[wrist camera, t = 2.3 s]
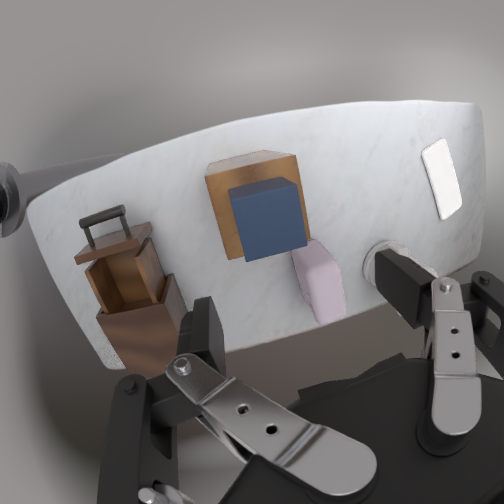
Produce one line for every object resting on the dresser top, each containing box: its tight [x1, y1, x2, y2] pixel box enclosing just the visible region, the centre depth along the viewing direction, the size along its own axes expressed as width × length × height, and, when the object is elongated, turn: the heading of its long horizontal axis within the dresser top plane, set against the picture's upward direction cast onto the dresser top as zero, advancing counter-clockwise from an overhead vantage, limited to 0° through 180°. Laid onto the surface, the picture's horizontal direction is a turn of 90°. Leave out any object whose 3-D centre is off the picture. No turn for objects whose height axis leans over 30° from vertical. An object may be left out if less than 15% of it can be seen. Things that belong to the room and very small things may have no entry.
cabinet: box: [96, 273, 188, 378], centre depth 41 cm, size 13×11×9 cm
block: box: [228, 176, 308, 262], centre depth 22 cm, size 5×5×5 cm
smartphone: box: [421, 139, 462, 220], centre depth 42 cm, size 7×1×15 cm
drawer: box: [74, 205, 167, 313], centre depth 36 cm, size 17×10×7 cm, turn 12°
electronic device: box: [291, 239, 347, 325], centre depth 41 cm, size 10×5×10 cm, turn 18°
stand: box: [205, 150, 310, 260], centre depth 31 cm, size 8×8×16 cm
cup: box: [363, 241, 438, 317], centre depth 41 cm, size 10×9×12 cm
